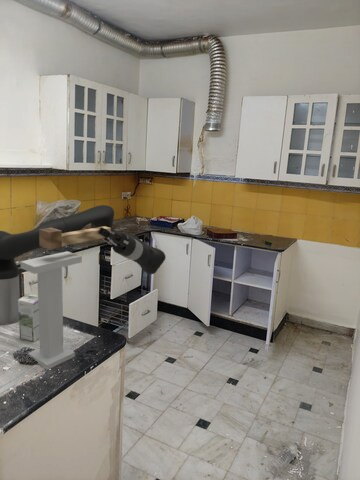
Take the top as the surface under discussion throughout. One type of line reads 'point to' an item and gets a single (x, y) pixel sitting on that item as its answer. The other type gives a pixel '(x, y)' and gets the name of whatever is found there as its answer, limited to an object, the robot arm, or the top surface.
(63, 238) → the mallet
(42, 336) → the stand
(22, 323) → the syrup box
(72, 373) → the top surface
